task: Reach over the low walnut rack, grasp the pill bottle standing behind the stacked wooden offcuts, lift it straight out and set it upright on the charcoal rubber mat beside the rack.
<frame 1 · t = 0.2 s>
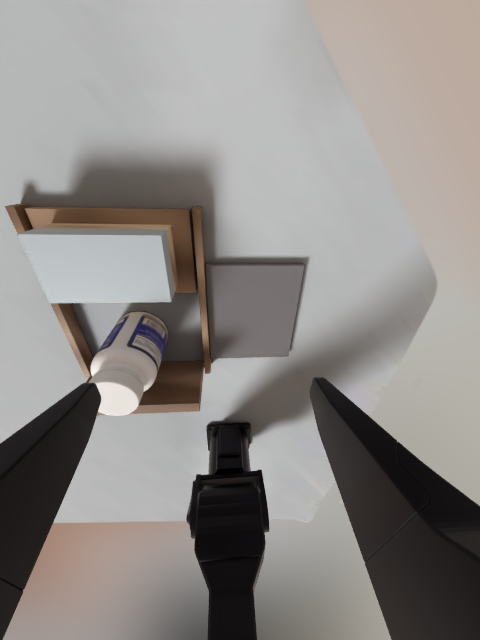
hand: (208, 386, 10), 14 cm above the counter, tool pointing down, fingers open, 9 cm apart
rack: (137, 307, 23), on the counter
mat: (251, 314, 25), on the counter
pill bottle: (144, 330, 25), resting in rack
offcut lower: (120, 255, 20), point 1 cm above the counter, touching offcut upper, rack
offcut upper: (111, 263, 18), point 3 cm above the counter, touching offcut lower
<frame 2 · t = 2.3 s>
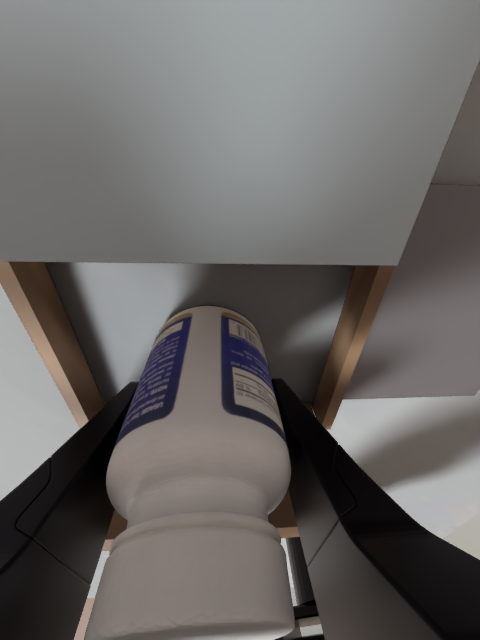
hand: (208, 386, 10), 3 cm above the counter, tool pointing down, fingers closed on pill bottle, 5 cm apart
rack: (208, 295, 10), on the counter
mat: (441, 313, 12), on the counter
pill bottle: (210, 345, 12), resting in rack, touching gripper
offcut upper: (191, 123, 5), point 3 cm above the counter, touching offcut lower
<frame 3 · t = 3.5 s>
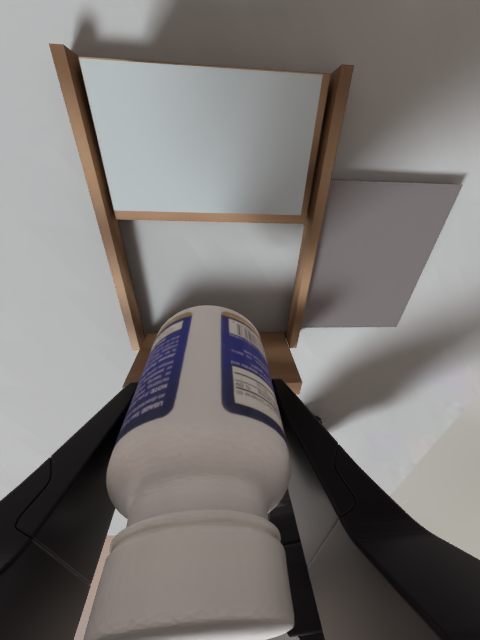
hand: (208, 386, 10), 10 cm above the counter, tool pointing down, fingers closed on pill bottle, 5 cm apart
rack: (214, 248, 17), on the counter
mat: (363, 264, 18), on the counter
pill bottle: (210, 345, 12), point 7 cm above the counter, touching gripper
offcut upper: (209, 152, 12), point 3 cm above the counter, touching offcut lower
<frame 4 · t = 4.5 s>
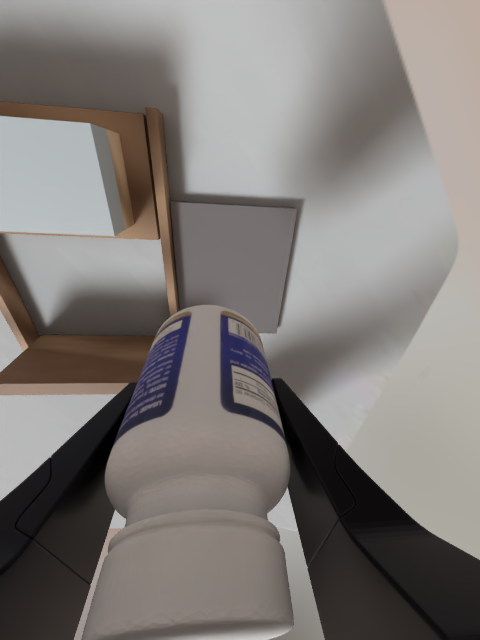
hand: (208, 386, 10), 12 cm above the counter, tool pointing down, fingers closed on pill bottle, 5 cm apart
rack: (86, 259, 18), on the counter
mat: (231, 276, 20), on the counter
pill bottle: (210, 344, 12), point 9 cm above the counter, touching gripper
offcut lower: (53, 178, 15), point 1 cm above the counter, touching offcut upper, rack
offcut upper: (33, 179, 13), point 3 cm above the counter, touching offcut lower
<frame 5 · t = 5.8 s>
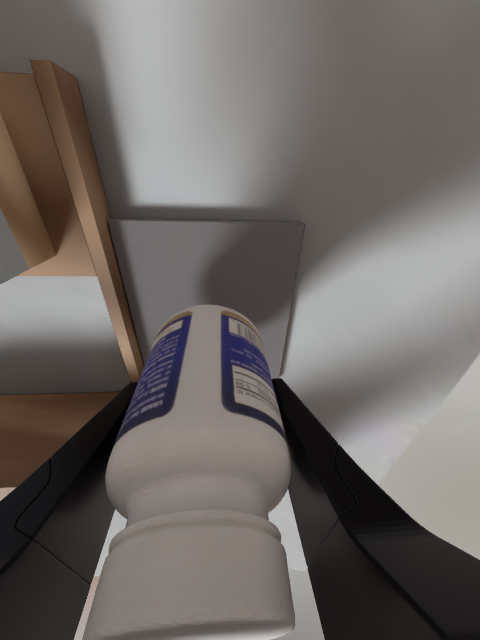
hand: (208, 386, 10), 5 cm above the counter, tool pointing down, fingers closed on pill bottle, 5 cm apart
rack: (2, 302, 13), on the counter
mat: (213, 317, 14), on the counter
pill bottle: (210, 344, 12), point 3 cm above the counter, touching gripper
when the fingers open (4 cm above the counter, at t = 6.8 s): pill bottle drops 1 cm, resting on mat.
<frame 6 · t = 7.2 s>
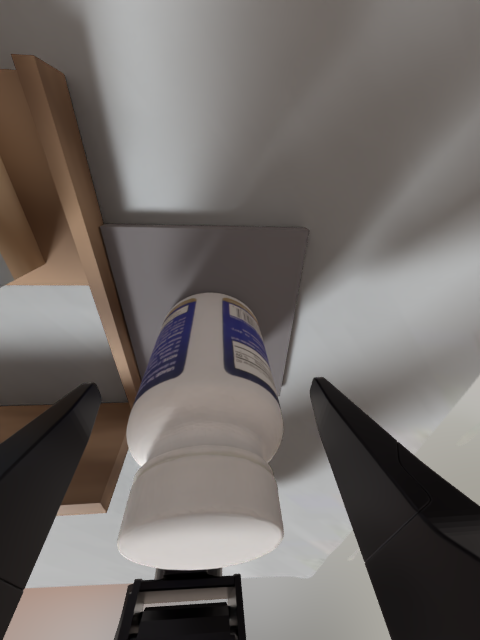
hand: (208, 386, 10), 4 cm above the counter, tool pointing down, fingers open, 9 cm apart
mat: (212, 326, 14), on the counter
pill bottle: (212, 330, 13), resting on mat
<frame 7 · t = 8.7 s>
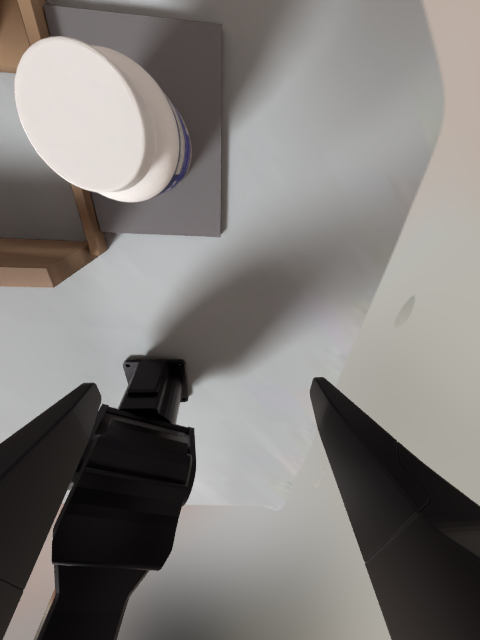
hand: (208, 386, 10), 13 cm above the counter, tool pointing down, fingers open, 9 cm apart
mat: (153, 146, 16), on the counter
pill bottle: (152, 146, 15), resting on mat
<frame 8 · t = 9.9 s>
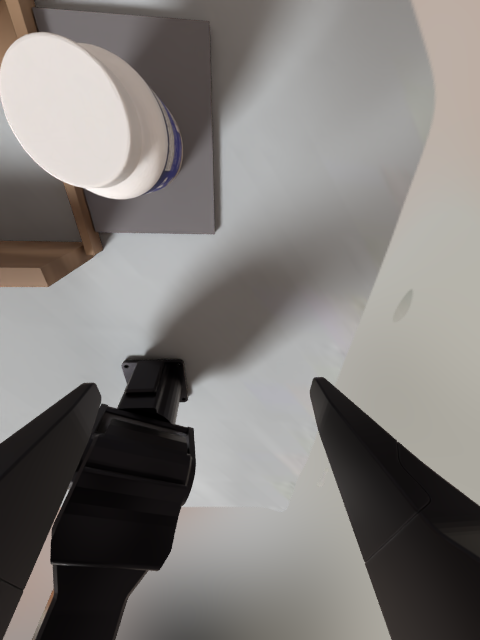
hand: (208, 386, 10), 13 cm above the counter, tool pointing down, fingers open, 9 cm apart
mat: (145, 145, 16), on the counter
pill bottle: (144, 145, 15), resting on mat
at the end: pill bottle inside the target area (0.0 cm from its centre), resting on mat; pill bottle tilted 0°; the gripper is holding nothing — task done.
